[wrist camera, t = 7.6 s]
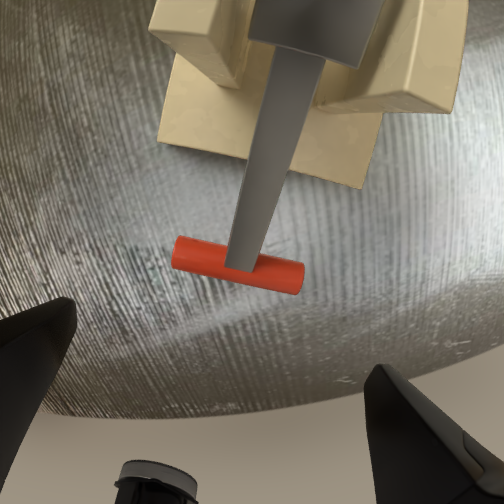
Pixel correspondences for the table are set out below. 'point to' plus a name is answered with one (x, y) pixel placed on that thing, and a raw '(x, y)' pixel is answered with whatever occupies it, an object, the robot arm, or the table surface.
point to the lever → (280, 131)
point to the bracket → (328, 90)
